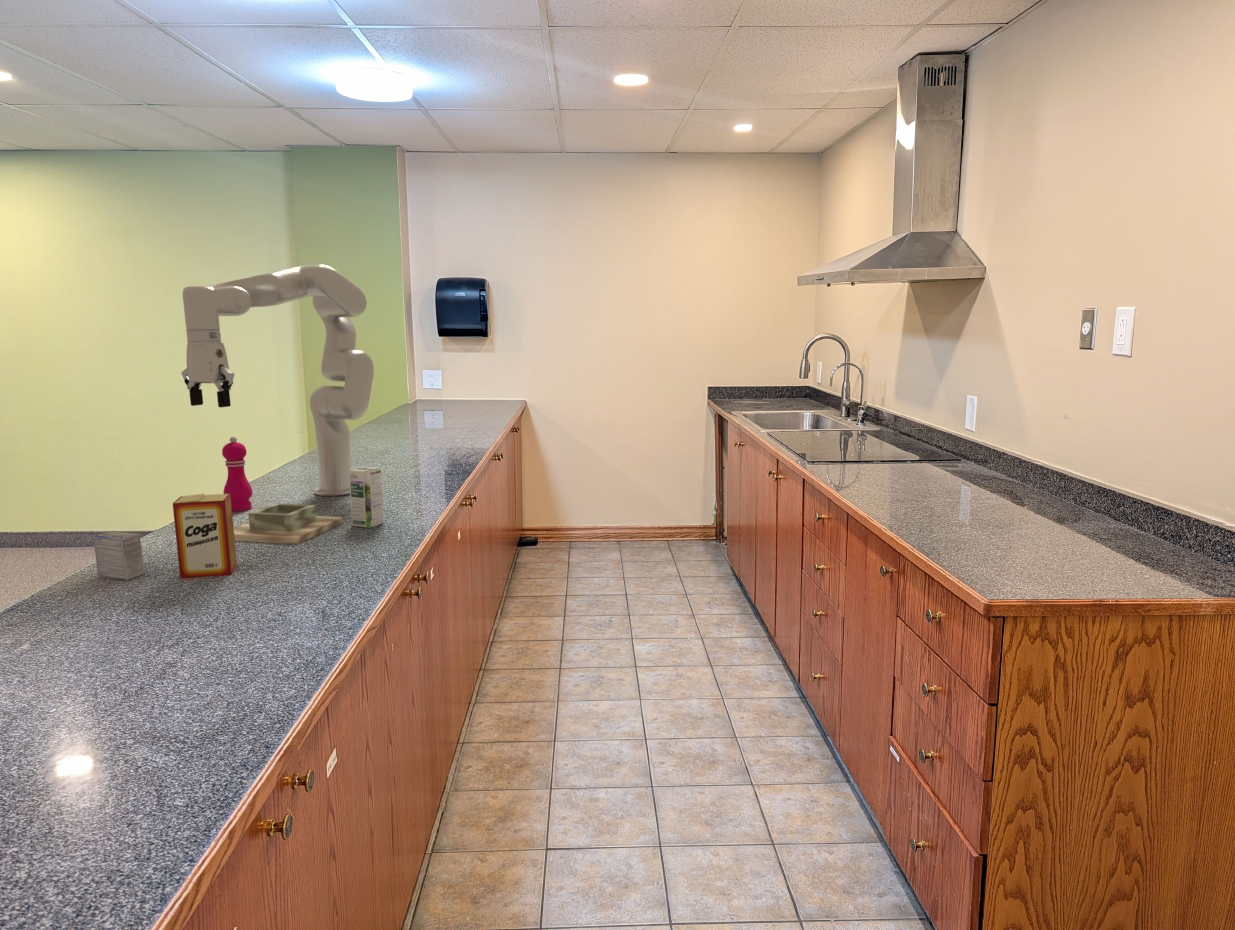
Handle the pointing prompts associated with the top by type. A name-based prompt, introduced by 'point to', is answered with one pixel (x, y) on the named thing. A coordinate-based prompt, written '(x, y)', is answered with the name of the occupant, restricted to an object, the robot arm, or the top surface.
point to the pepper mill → (237, 476)
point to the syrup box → (366, 496)
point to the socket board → (285, 524)
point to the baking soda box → (204, 535)
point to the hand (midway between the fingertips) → (210, 406)
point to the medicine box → (118, 555)
